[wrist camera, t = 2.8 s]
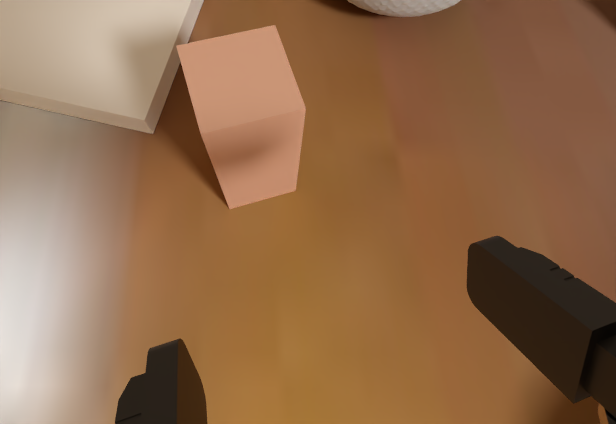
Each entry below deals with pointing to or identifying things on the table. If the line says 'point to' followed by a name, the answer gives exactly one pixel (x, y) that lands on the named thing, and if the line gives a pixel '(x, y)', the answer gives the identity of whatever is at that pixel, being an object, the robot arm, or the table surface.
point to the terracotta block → (246, 112)
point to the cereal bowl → (403, 6)
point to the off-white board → (94, 56)
